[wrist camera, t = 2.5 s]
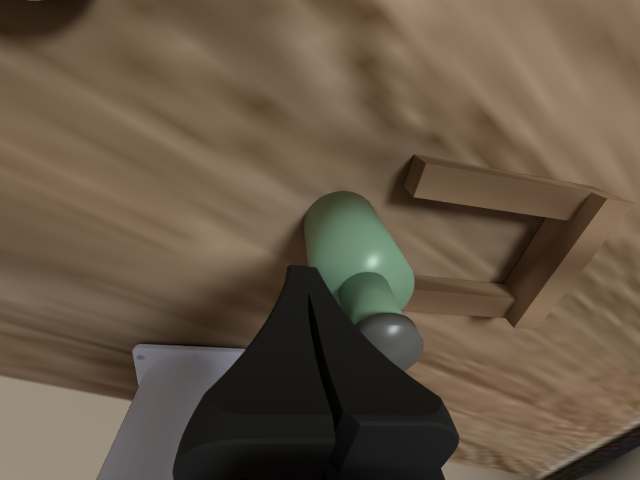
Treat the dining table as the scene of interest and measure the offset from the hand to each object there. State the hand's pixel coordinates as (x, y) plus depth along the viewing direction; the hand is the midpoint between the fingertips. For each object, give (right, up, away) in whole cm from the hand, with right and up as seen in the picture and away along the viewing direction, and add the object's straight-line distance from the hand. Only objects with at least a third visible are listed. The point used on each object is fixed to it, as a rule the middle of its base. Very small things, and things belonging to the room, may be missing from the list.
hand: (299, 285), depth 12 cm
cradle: (+10, +2, +7) cm, 12 cm away
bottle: (+2, +3, +6) cm, 7 cm away
